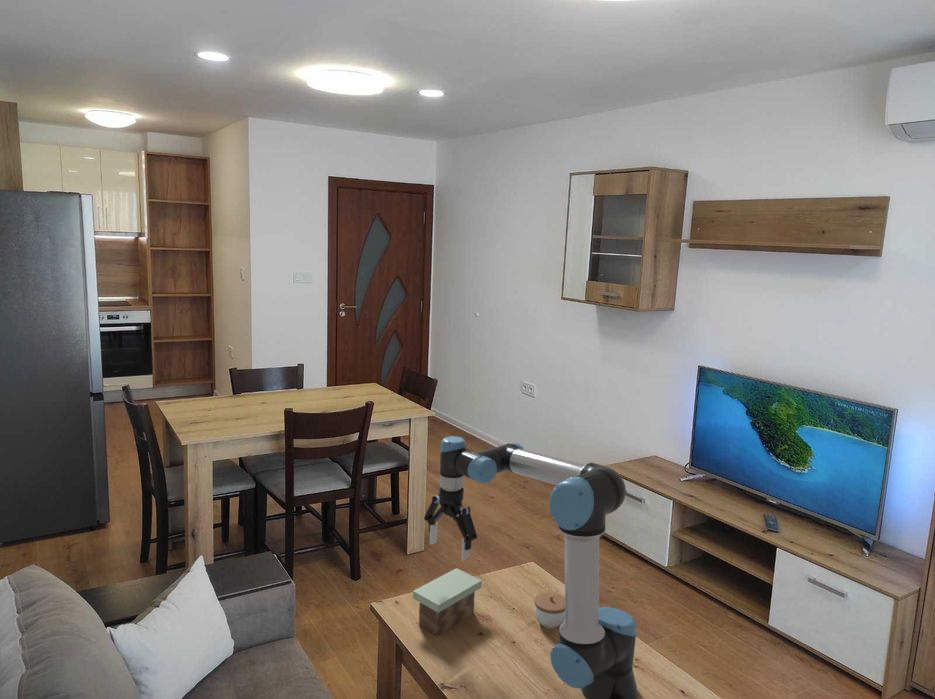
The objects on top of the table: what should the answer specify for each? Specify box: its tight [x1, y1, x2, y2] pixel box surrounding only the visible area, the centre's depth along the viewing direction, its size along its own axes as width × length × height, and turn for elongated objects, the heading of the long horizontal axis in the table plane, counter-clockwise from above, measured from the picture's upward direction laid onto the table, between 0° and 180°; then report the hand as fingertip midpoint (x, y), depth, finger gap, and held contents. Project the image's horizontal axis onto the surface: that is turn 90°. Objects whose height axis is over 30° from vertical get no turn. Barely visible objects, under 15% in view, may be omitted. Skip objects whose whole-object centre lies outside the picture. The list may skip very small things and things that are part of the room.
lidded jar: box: [534, 591, 565, 629], centre depth 215 cm, size 11×11×9 cm
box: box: [418, 591, 476, 637], centre depth 213 cm, size 17×8×10 cm, turn 138°
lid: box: [412, 567, 483, 613], centre depth 212 cm, size 20×11×4 cm, turn 138°
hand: (448, 550), depth 210 cm, fingers open, 13 cm apart
